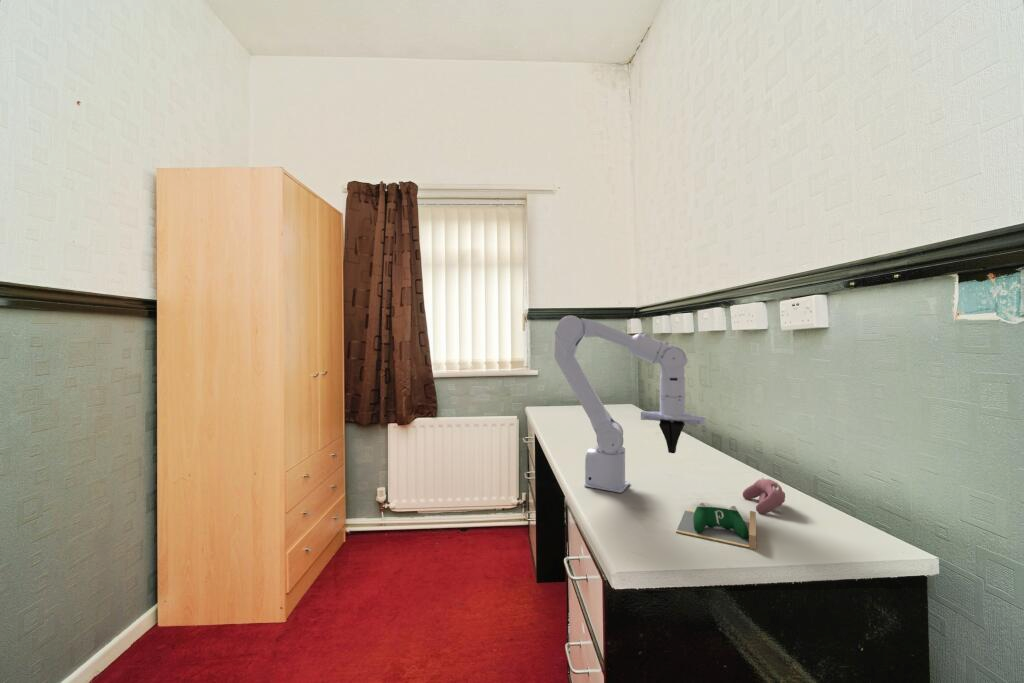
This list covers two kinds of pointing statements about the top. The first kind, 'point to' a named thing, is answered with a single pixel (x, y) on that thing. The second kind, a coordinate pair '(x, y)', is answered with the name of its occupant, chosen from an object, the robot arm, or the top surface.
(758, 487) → the video game controller
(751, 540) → the tray
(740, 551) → the top surface
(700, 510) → the gaming controller
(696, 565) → the top surface
